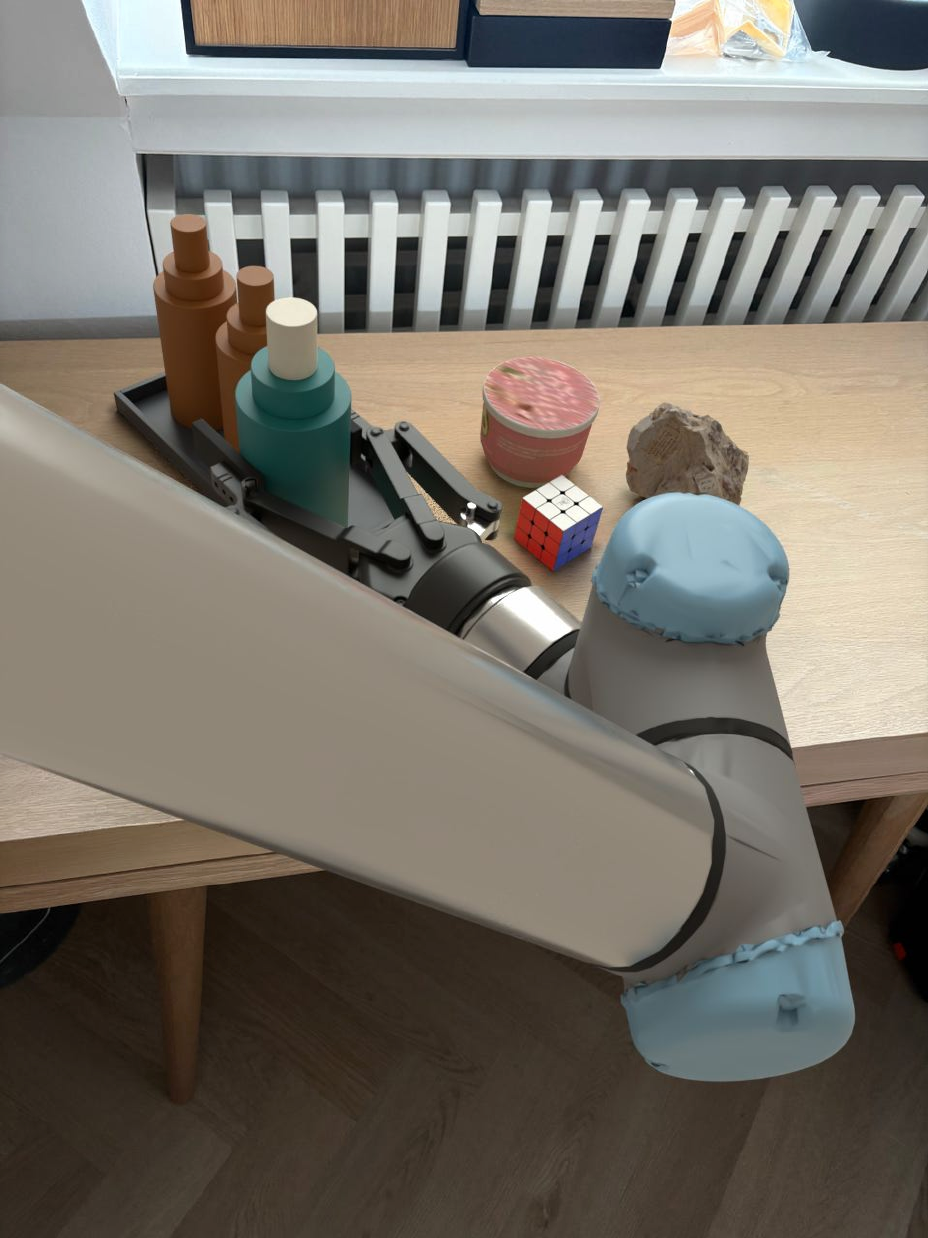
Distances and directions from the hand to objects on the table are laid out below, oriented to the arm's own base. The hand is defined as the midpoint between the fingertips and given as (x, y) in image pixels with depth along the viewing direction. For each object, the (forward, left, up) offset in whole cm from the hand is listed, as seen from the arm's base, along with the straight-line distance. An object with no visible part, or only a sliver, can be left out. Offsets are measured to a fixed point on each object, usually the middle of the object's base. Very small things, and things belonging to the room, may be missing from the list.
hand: (248, 415), depth 66 cm
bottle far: (+11, +23, -19) cm, 32 cm away
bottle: (0, -5, -8) cm, 9 cm away
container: (+31, 0, -20) cm, 37 cm away
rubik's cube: (+25, -9, -20) cm, 33 cm away
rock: (+38, -13, -20) cm, 44 cm away
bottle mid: (+11, +14, -19) cm, 26 cm away
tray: (+11, +14, -20) cm, 27 cm away
